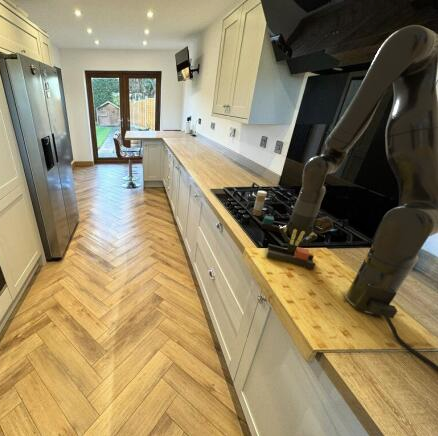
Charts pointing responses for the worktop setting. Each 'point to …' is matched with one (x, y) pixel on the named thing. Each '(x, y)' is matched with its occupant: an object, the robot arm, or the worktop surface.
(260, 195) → the sprinkles bottle
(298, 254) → the red cube
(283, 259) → the rail front
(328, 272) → the worktop surface
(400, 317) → the worktop surface
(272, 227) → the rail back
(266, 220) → the teal cube
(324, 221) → the brown lumpy chunk
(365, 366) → the worktop surface
